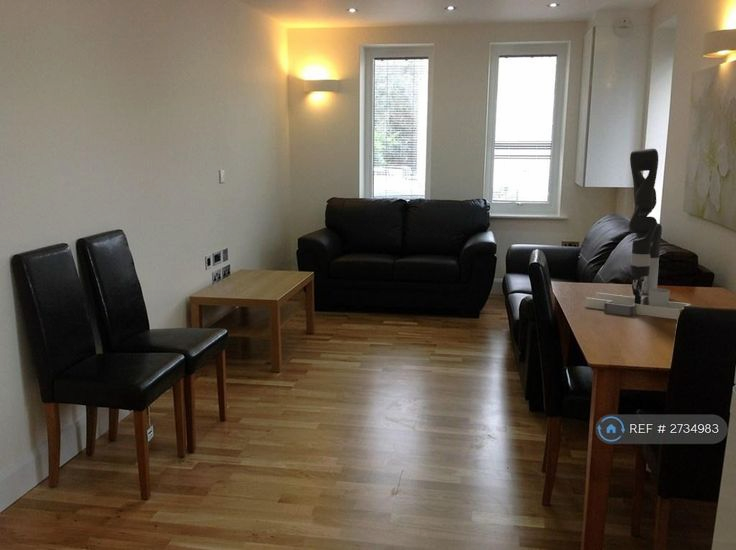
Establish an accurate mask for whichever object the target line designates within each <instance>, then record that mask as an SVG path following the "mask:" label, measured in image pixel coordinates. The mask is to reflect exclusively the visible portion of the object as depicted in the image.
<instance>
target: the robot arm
mask: <svg viewBox="0 0 736 550" xmlns="http://www.w3.org/2000/svg"><path fill="white" fill-rule="evenodd" d="M629 156H630V157H629V158H630V159H629V163H630V164H629V165H630V170H631V176H632V184H633V203H634V209H633V213H632V215H631V218H630V219H629V224H628V229H629V231H630V232H631V233H632V234H635V236H636V238H635V239H634V240H633V241H632V247H631V256H630V268H629V274H630V276H634V277H633V279H632V284H631V290H632V295H633V297H635V302H634V304H641V297H643V294H644V295H645V294H646V295H648V294H649V289H650V288H658V280H659V279H658V277H659V266H660V265H659V261H660V250H661V241H662V240H661V239H662V231H663V230H662V229H663V227H662V224H661V223H658V222H657V221H658V220H657V219H656V217H654V216H649V215H650V214H651V213H652V211H653V210H654V209H655V207H656V205H657V191H656V188H655V184H656V181H657V173H658V166H659V152H658V150H657V149H656V148H645V149H644V148H643V149H634V150H631V153H630V155H629ZM644 171H648V173H647V176H646V177H644V176H643V173H642V172H644Z"/></svg>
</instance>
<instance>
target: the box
mask: <svg viewBox="0 0 736 550" xmlns="http://www.w3.org/2000/svg"><path fill="white" fill-rule="evenodd" d="M634 302H635V296H629V295H620V294H611V293H605V292H596V294H595V297H594V298H593V297H585V305H584V307H585V308H591V309H599V310H603V313H606V314H612V315H619V314H620V315H621V316H628V317H634V316H635V315H643V316H648V317H649V316H650V317H656V318H657V317H658V318H663V319H672V320H678V319H677V318H678V315H679V312H680V310H681V308H682V307H684V306H691V307H692V303H687V302H686V303H685V302H678V301H670V298H669V301H668V305H667V308H666V307H658V306H650V305H649V300H648V295H642V296H641V304H634Z"/></svg>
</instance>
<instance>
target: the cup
mask: <svg viewBox="0 0 736 550" xmlns="http://www.w3.org/2000/svg"><path fill="white" fill-rule="evenodd" d="M670 294H671V290H670V289H667V288H660V287H657V288H650V289H649V294H647V296H648V300H649V305H650V306H658V307H666V308H667V305H668V301H669V299H670Z"/></svg>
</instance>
